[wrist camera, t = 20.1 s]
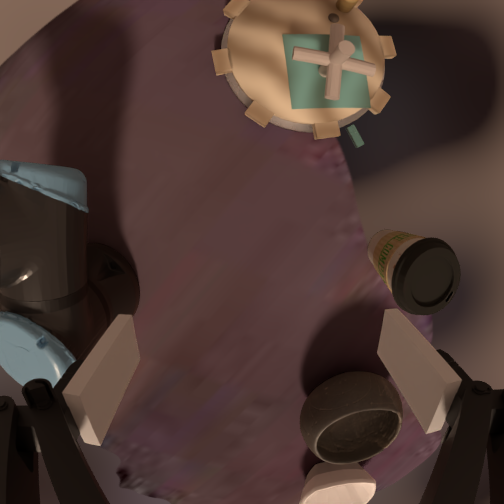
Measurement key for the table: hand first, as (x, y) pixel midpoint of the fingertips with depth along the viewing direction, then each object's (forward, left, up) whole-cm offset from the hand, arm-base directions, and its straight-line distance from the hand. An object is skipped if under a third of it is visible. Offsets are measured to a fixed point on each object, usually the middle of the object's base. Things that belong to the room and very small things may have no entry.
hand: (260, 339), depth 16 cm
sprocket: (+8, +25, -30) cm, 40 cm away
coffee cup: (+21, -4, -32) cm, 38 cm away
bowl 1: (+17, -32, -32) cm, 48 cm away
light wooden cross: (+10, +21, -28) cm, 37 cm away
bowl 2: (+19, -60, -32) cm, 71 cm away
